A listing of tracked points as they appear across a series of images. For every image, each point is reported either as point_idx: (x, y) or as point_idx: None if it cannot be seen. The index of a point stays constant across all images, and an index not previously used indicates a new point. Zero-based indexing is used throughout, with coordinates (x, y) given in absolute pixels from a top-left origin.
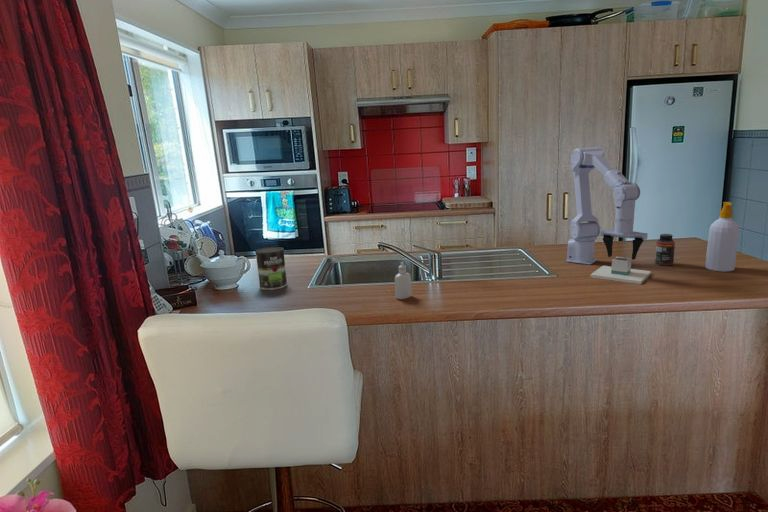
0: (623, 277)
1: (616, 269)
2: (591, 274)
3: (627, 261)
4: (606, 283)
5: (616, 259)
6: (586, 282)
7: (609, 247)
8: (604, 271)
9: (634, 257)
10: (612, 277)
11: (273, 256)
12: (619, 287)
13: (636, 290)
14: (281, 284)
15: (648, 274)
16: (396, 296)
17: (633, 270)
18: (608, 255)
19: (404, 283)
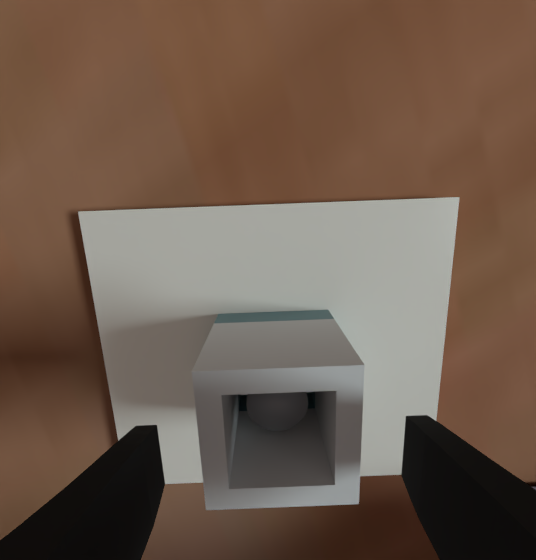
0: (218, 249)
1: (295, 324)
2: (452, 202)
3: (192, 371)
4: (297, 96)
5: (333, 431)
6: (439, 31)
7: (530, 532)
8: (384, 335)
9: (115, 449)
10: (287, 205)
11: None
12: (180, 37)
13: (50, 27)
14: None
15: (118, 423)
16: None
17: None
18: (436, 424)
19: None
